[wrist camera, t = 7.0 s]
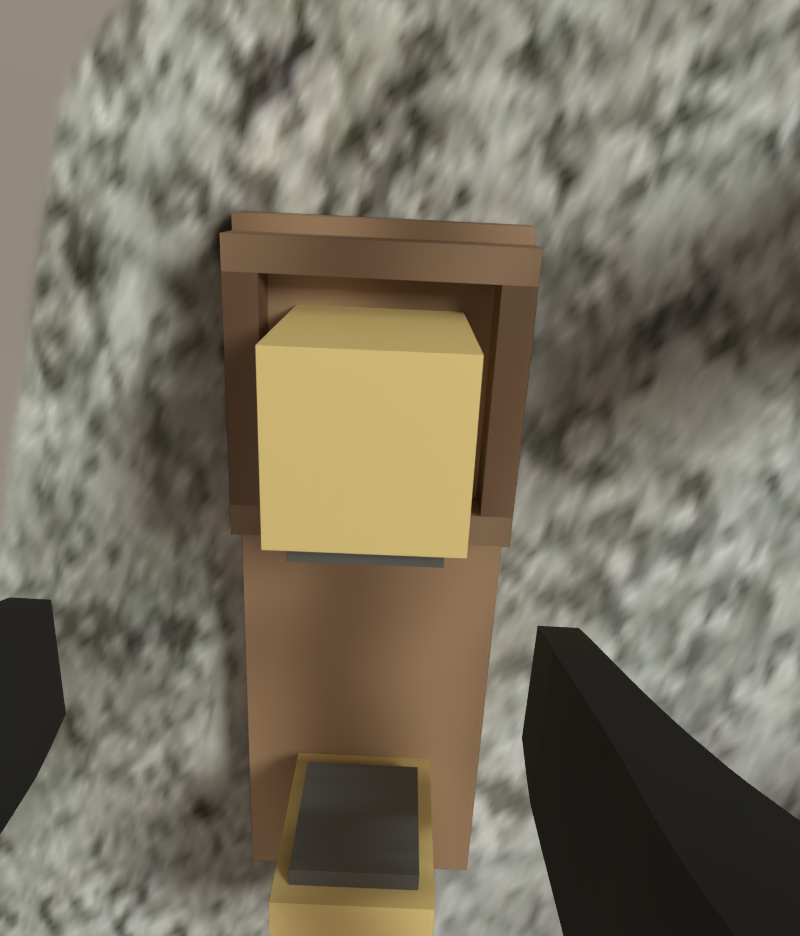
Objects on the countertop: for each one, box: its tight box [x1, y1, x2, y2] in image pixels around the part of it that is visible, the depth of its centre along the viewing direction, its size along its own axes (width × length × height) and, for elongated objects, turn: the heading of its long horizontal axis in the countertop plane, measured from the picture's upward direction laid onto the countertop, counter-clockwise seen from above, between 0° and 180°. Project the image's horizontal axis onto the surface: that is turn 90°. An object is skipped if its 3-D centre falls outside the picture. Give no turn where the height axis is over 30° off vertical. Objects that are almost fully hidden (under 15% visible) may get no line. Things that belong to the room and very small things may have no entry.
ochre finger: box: [255, 305, 484, 568], centre depth 16 cm, size 4×4×5 cm
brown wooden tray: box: [219, 211, 543, 936], centre depth 18 cm, size 7×20×6 cm, turn 177°
